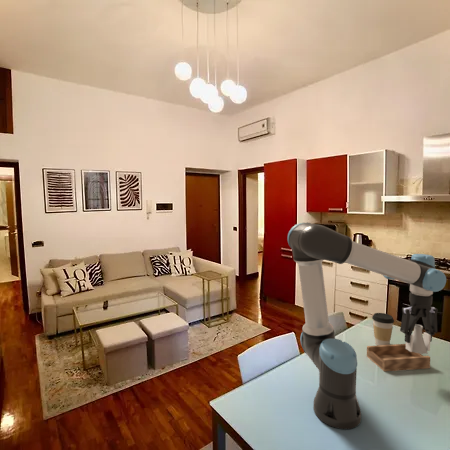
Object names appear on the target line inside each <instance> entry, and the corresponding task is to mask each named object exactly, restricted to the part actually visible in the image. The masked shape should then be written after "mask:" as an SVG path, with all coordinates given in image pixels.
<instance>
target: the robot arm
mask: <svg viewBox="0 0 450 450" xmlns="http://www.w3.org/2000/svg"><path fill="white" fill-rule="evenodd" d="M287 243H288V246H289V248H291V250H292V251H291V252H292V256H293V257H292V258H293V261H294V262H295V263H296V264H297V265H298V272H299V273H298V274H299V279H300V280H299V281H300V289H301V297H302V304H303V312H304V320H305V323H304V324H303V326H302V328H301V329H302V332H301V334H300V338H299V339H300V345H301V347H302V349H303V352H304V353H305V354H306V356H307V357H308V358H309V359H310V360H311V362H312V363H313V364H314V365H315V366H316V368H317V369H318V371H319V374H318V375H319V378H318V382H319V383H318V385H319V386H318V389H317V391H316V394H315V396H314V399H313V407H312V408H313V412H314V414H315V416H316V417H317V418H318V419H319V420H320V421H322V422H323V423H324V424H326V425H328V426H329V427H333V428H335V429H339V430H351V429H355V428H357V427H358V426H359V425H360V423H361V420H362V413H361V412H362V411H361V407H360V404H359V401H358V398H357V370H358V369H357V368H358V359H357V353H356V350H355V348H354V347H353V346H352V345H351V344H349V343H348V342H346V341H343V340H341V339H339V338H336V335H335V328H334V325H333V324H331V323H330V321H329V312H328V303H327V296H326V295H327V294H326V288H325V278H324V269H323V261H327V262H330V263H331V262H332V263H336V264H338V265H342V264H348V265H350V266H353V267H357V268H360V269H363V270H367V271H369V272H372V273H374V274H375V273H376V274H379V275H381V276H383V277H384V278H385V279H387V280H392V281H393V280H397V281H400V282H403V283H406V284H409V291H410V292H409V295H408V297H409V299H408V300H409V303H410V304H409V305H408V307H402V308H401V311H402V317H401V323H400V328H399V330H400V332H402V333H403V334H404V342H405V344H406V349H407V350H408V351H410V352H412V349H413V335H412V334H413V332H414V327H415V324H417V323H418V320H420V318H421V320H422V324H423V328H424V331H425V332H424V331H423V333H422V336H423V340H424V343H425V346H426V349H427V352H430V351H431V342H432V340H433V336H435V334H437V333H438V312H439V309H438V308H436V307H434V306H432V305H433V297H434V296H433V294H434V293H436V292H439V291H440V292H441V291H442V290H443V289H444V288H445V287H446V283H447V276H446V275H445V273H444V272H443V271H442V270H439V269H436V265H435V264H436V263H435V262H436V261H435V257H434V256H433V255H432V254H431V255H430V254H424V253H414V254H411V258H410V259H406V258H402V257H399V256H396V255H394V254H391V253H389V252H386V251H382V250H380V249H376V248H373V247H371V246H367V245H365V244H361V243H359V242H356V241H353V239H352V238H351V237H350V236H348V235H345V234H342V233H340V232H338V231H336V230H333V229H332V228H329V227H327V226H325V225H321V224H318V223H317V224H316V223H311V222H301V223H296V224H294V226H292V227H291V228H290V230H289V231H288V233H287Z"/></svg>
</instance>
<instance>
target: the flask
mask: <svg viewBox="0 0 450 450" xmlns="http://www.w3.org/2000/svg"><path fill="white" fill-rule="evenodd" d="M423 329H424V325H422V324H417V323H416V324H415V327H414V329H413V332H412V334H411V335H413V349H412V352H415V353H420V354H421V355H423V354H428V351H427V349H426V346H425V343H424V340H423Z"/></svg>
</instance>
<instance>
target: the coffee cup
mask: <svg viewBox="0 0 450 450" xmlns="http://www.w3.org/2000/svg"><path fill="white" fill-rule="evenodd" d="M371 319H372V320H373V323H372V325H373V336H374V343H375V346H377V345H391V344H390V343H391V339H392V333H393V328H394V327H393V326H394V323H395V319H394V317H393V316H392V315H391V314H387V313H386V312H385V313H384V312H375V313H373V315H372V316H371Z"/></svg>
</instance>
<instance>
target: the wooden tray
mask: <svg viewBox="0 0 450 450" xmlns="http://www.w3.org/2000/svg"><path fill="white" fill-rule="evenodd" d="M366 358H368V359H369V360H370V361H371V362H372V363H374V364H375V365H376V366H377V367H378V368H379V369H380V370H382V371H383V372H395V371H396V372H397V371H410V370H412V371H413V370H422V369H423V370H426V369H431V356H429V355H423V354H420V353H415V352H410V351H408V350H407V349H406V343H400V344H399V343H398V344H397V343H396V344H389V345H367V346H366Z"/></svg>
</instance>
